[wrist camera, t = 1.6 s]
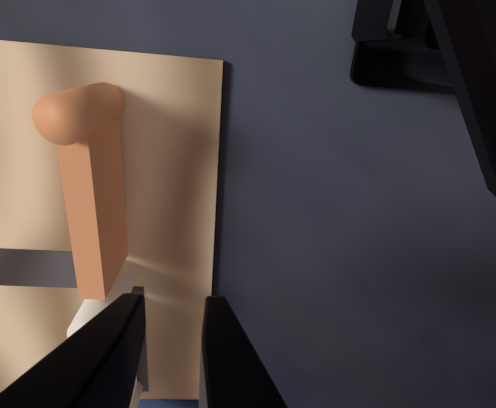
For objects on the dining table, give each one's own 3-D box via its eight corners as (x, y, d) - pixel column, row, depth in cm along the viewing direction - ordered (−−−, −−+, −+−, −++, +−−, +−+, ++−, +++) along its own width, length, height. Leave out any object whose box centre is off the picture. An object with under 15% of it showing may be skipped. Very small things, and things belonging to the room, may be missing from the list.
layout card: (223, 60, 16) (222, 60, 16) (206, 394, 26) (205, 400, 25) (-161, 25, 15) (-172, 24, 15) (-30, 391, 25) (-34, 397, 24)
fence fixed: (138, 254, 21) (109, 320, 16) (146, 390, 25) (125, 473, 20) (104, 253, 20) (64, 318, 15) (118, 389, 25) (90, 473, 20)
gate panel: (123, 83, 16) (82, 95, 12) (133, 254, 20) (105, 311, 15) (83, 80, 16) (27, 91, 11) (101, 252, 20) (64, 310, 15)
